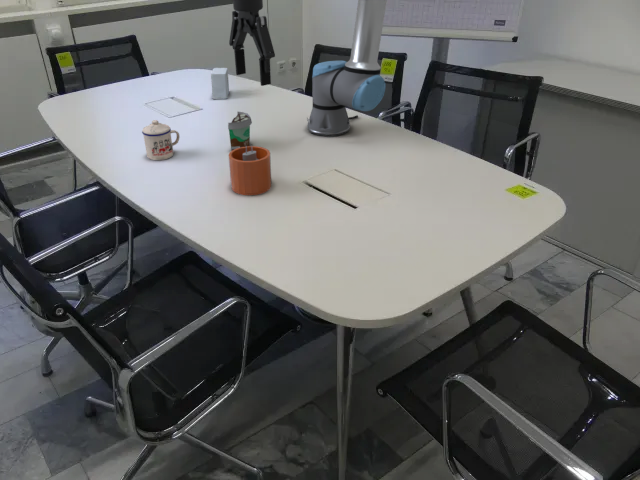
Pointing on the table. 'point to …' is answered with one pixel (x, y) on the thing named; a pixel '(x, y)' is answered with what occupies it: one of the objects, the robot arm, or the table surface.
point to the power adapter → (249, 155)
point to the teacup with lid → (159, 140)
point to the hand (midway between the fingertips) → (253, 79)
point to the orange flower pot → (250, 171)
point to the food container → (240, 130)
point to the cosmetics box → (220, 83)
